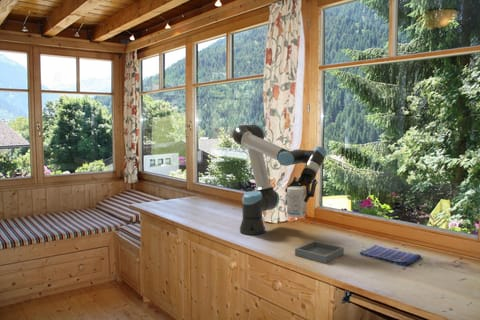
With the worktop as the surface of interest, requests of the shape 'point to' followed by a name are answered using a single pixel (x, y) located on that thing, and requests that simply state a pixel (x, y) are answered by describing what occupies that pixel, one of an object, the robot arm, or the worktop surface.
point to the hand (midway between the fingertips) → (292, 205)
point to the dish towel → (390, 255)
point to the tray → (319, 251)
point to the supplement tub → (295, 201)
